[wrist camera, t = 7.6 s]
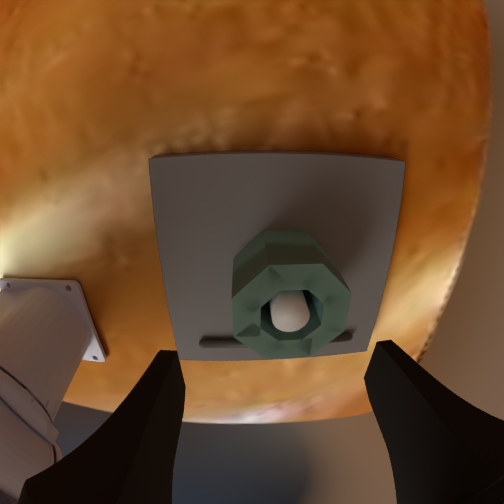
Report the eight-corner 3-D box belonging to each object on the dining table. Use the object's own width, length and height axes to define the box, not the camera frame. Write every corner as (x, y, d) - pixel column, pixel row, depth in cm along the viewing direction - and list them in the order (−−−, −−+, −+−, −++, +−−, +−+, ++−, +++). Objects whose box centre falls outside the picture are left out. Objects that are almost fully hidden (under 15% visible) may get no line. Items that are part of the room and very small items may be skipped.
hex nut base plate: (182, 346, 22) (171, 402, 17) (156, 155, 16) (119, 173, 11) (360, 338, 22) (383, 389, 17) (393, 157, 16) (446, 177, 11)
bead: (235, 314, 18) (235, 359, 15) (232, 231, 16) (229, 266, 12) (322, 310, 19) (338, 353, 15) (332, 229, 16) (357, 262, 13)
